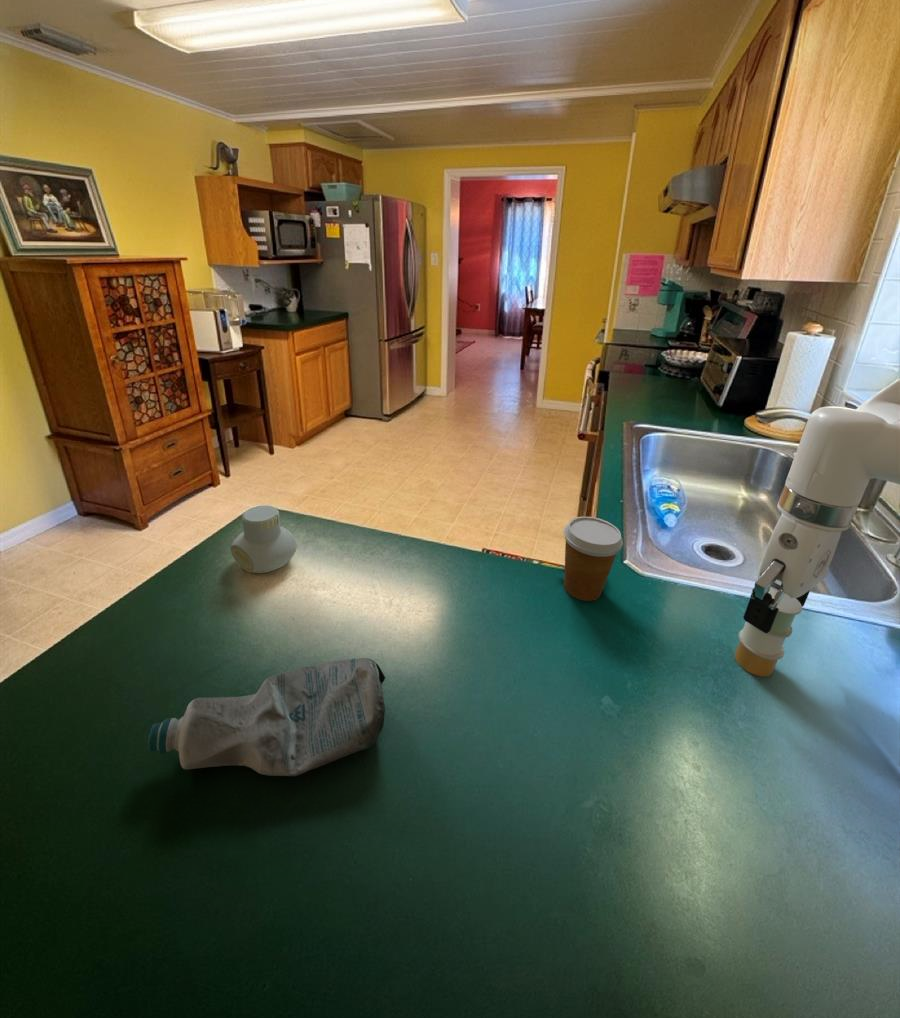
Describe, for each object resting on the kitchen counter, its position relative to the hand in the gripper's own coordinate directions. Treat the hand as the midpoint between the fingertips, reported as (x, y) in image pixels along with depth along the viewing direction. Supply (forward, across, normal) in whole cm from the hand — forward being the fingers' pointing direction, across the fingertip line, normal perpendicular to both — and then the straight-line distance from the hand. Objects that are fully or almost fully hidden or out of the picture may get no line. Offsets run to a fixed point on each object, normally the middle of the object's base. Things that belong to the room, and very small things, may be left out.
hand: (773, 613), depth 65 cm
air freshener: (+9, -55, +57) cm, 80 cm away
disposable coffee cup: (+9, -10, +24) cm, 28 cm away
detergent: (+9, -62, +23) cm, 67 cm away
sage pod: (+2, 0, 0) cm, 2 cm away
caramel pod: (+9, 0, 0) cm, 9 cm away
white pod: (+5, 0, 0) cm, 5 cm away
